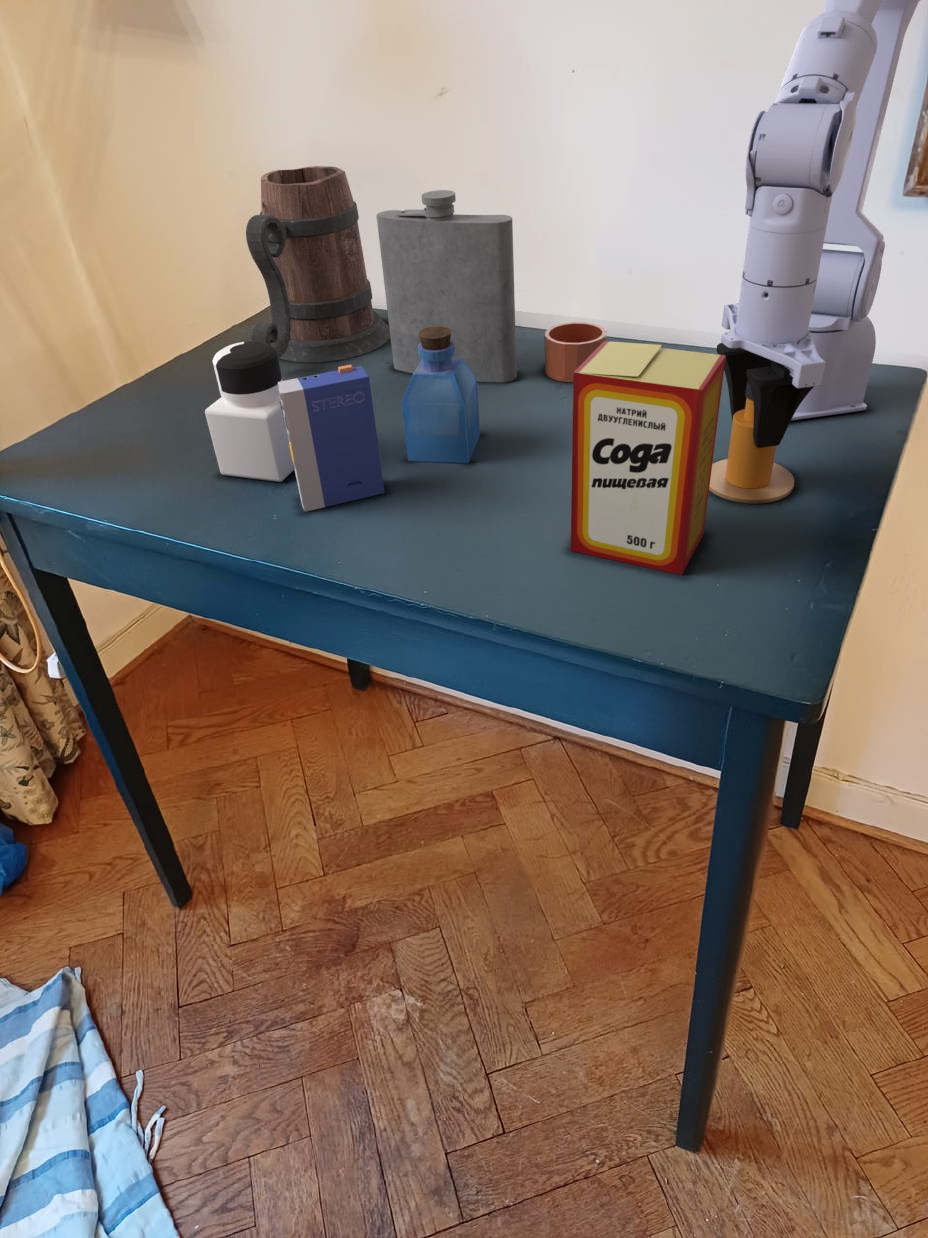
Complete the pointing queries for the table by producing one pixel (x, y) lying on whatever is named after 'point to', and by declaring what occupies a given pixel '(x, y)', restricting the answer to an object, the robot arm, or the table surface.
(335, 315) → the tankard
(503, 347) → the hip flask
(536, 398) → the table surface
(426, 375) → the perfume bottle
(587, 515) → the baking soda box
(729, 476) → the bottle
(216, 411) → the medicine bottle
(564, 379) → the cup
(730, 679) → the table surface
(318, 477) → the walkman
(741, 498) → the coaster
